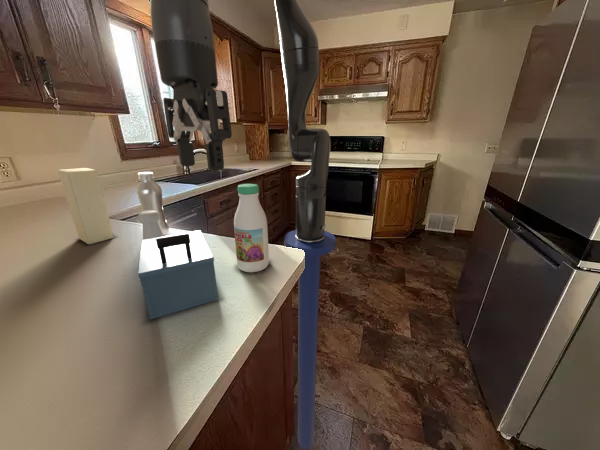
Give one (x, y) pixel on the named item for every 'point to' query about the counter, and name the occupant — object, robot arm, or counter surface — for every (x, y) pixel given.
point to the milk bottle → (250, 230)
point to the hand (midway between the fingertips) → (201, 167)
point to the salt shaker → (150, 224)
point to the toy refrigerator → (86, 204)
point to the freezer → (179, 289)
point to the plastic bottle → (152, 198)
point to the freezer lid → (173, 253)
